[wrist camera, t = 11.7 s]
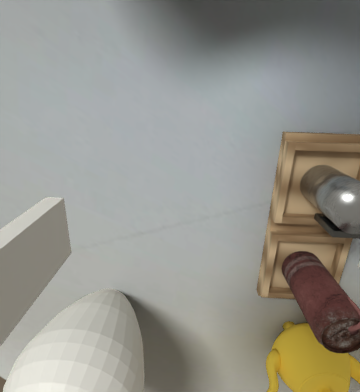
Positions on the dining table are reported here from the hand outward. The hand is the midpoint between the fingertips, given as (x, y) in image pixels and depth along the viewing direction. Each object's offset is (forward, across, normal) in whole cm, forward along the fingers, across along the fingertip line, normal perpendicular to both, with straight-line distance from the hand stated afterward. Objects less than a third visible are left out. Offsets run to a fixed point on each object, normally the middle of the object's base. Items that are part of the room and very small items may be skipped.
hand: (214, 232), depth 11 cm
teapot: (+29, +22, -39) cm, 53 cm away
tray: (+29, +18, -13) cm, 36 cm away
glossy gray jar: (+27, +18, -6) cm, 33 cm away
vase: (+29, -15, -32) cm, 46 cm away
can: (+27, +18, -20) cm, 38 cm away
